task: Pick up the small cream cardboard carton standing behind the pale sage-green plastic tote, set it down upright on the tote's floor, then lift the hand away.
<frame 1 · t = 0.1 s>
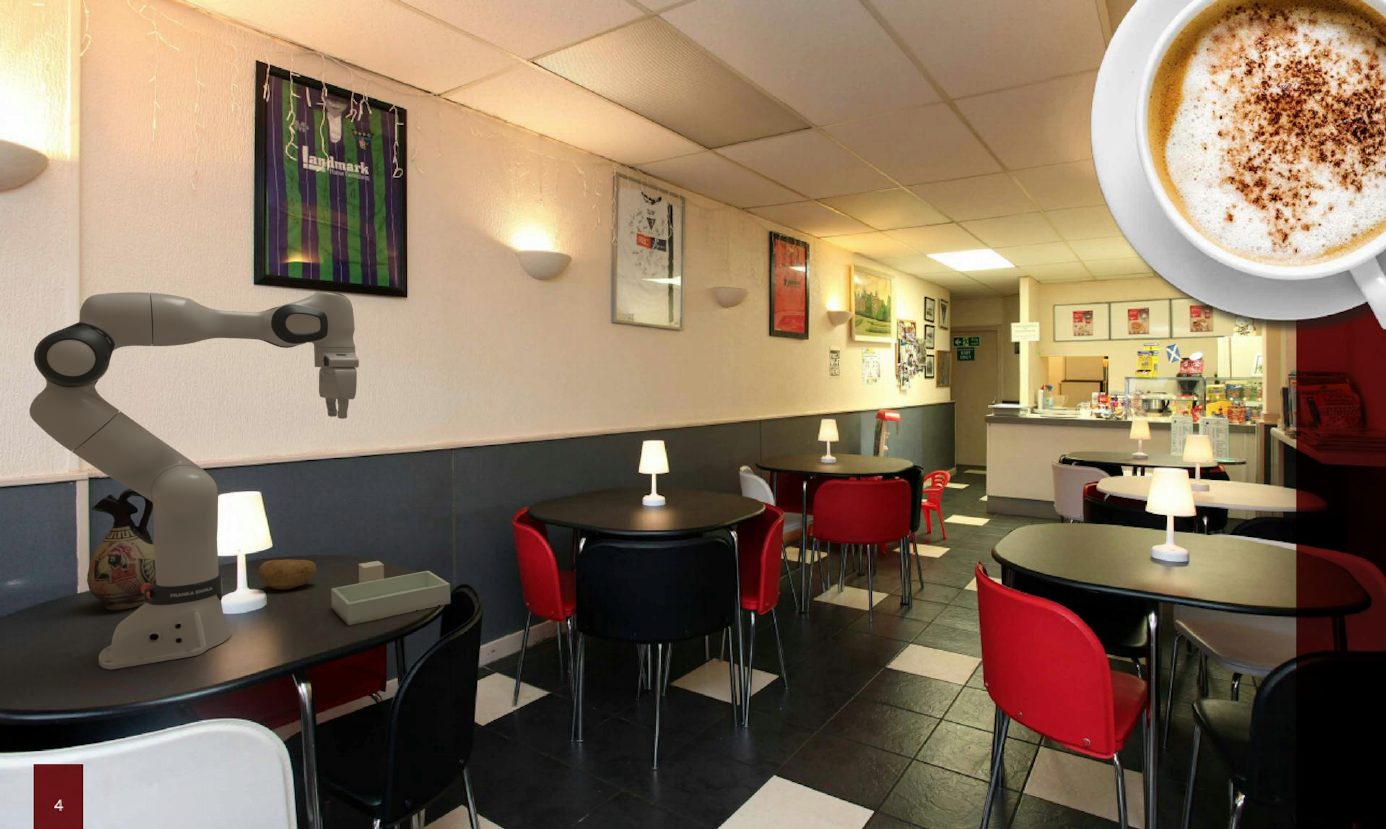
hand: (337, 417, 169), 48 cm above the table, fingers open, 8 cm apart
ceramic jug: (132, 605, 178), on the table
tote: (391, 605, 176), on the table
potato: (288, 589, 191), on the table
carton: (371, 589, 189), on the table
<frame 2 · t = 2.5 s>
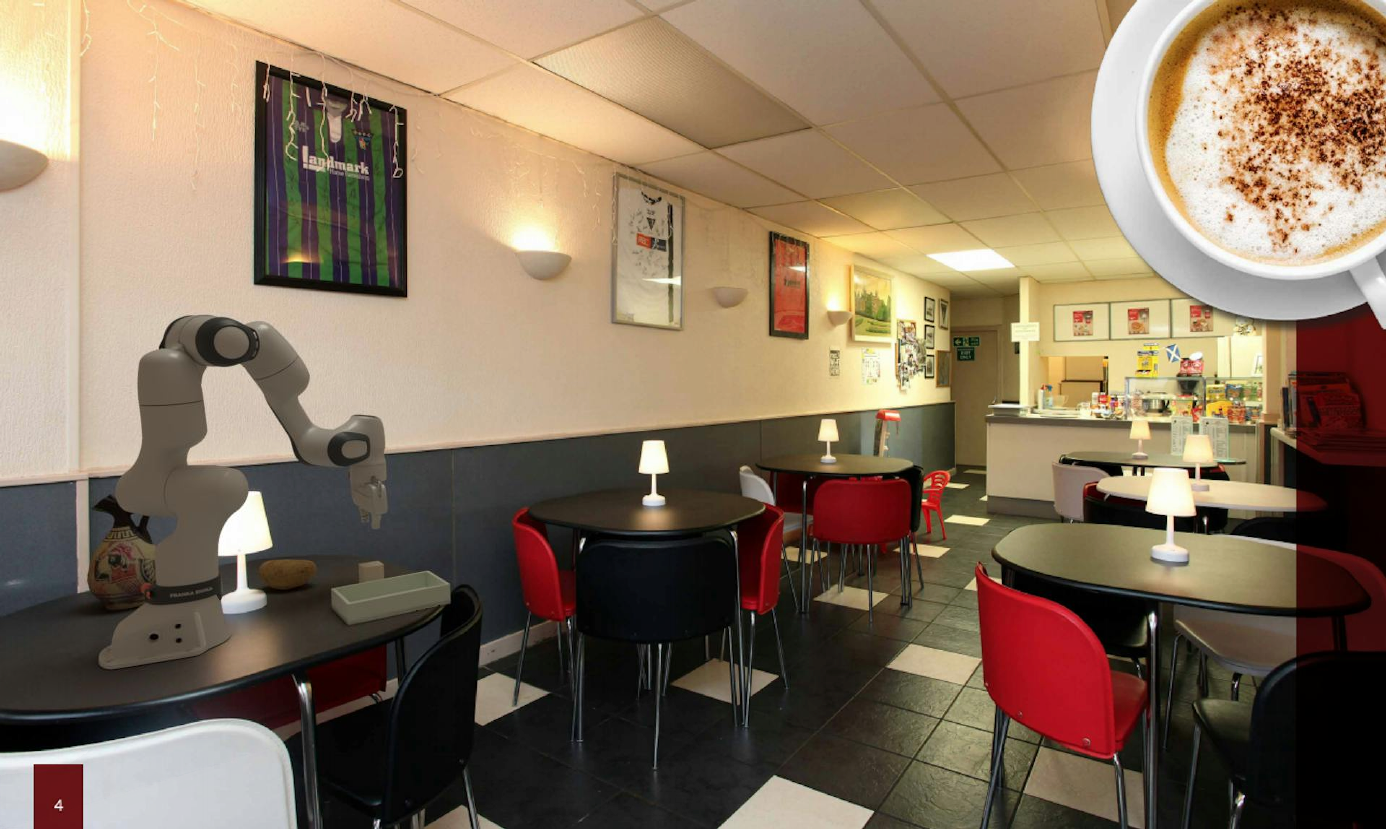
hand: (370, 525, 188), 18 cm above the table, fingers open, 8 cm apart
nothing on the table moved.
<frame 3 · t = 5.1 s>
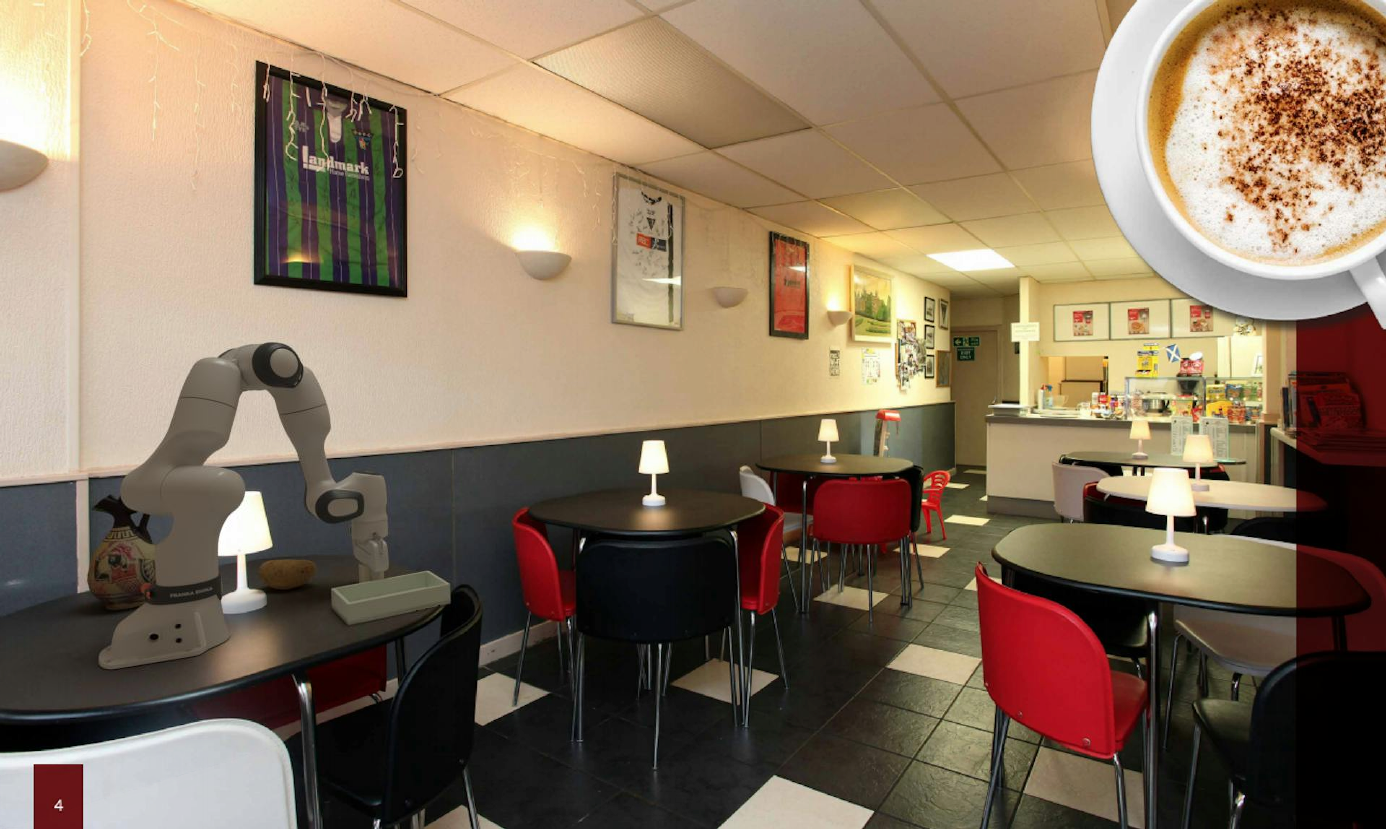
hand: (371, 580, 189), 2 cm above the table, fingers closed on carton, 5 cm apart
carton: (371, 589, 189), on the table, touching gripper
everything else where it was.
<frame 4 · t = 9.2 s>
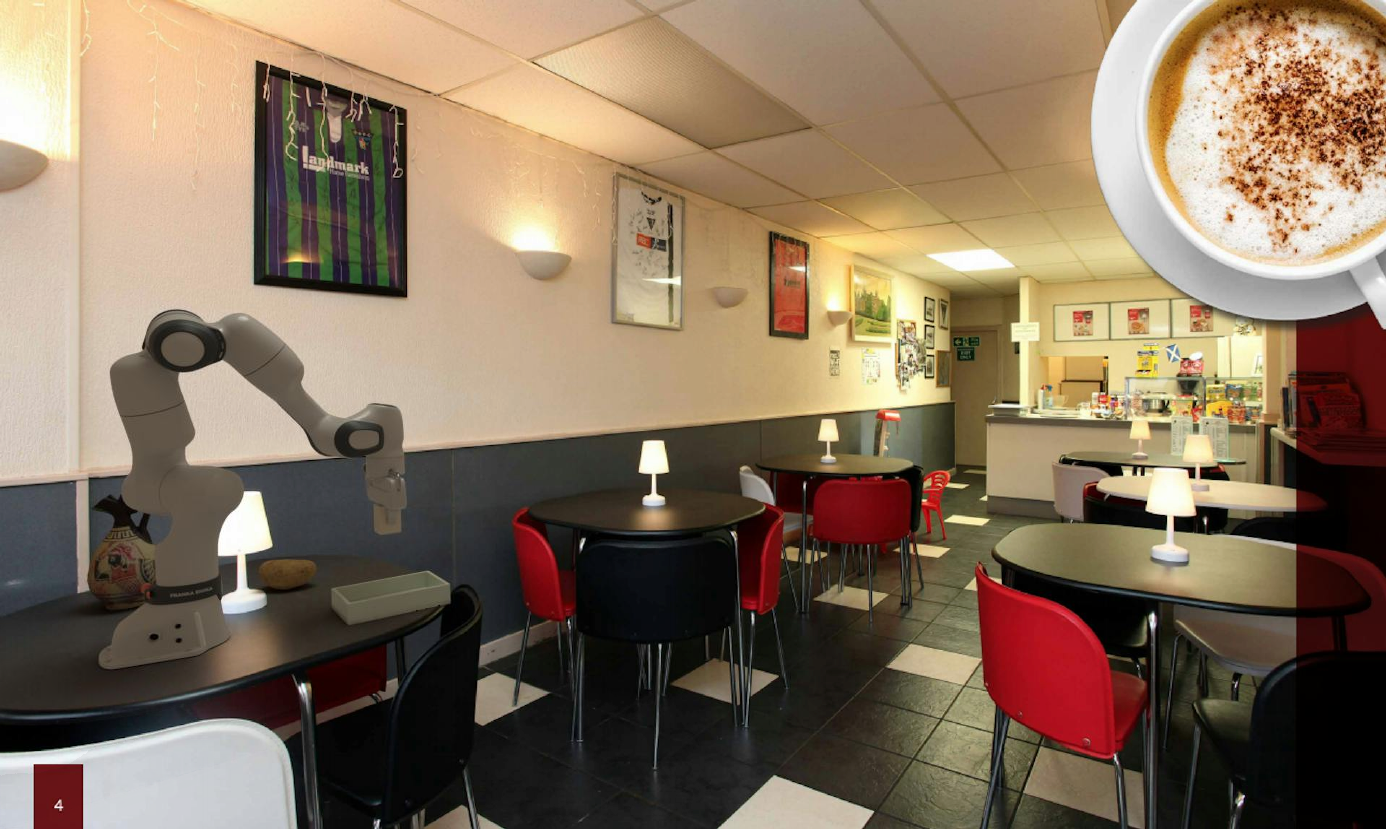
hand: (387, 522, 176), 21 cm above the table, fingers closed on carton, 5 cm apart
carton: (387, 531, 176), point 19 cm above the table, touching gripper
everything else where it was.
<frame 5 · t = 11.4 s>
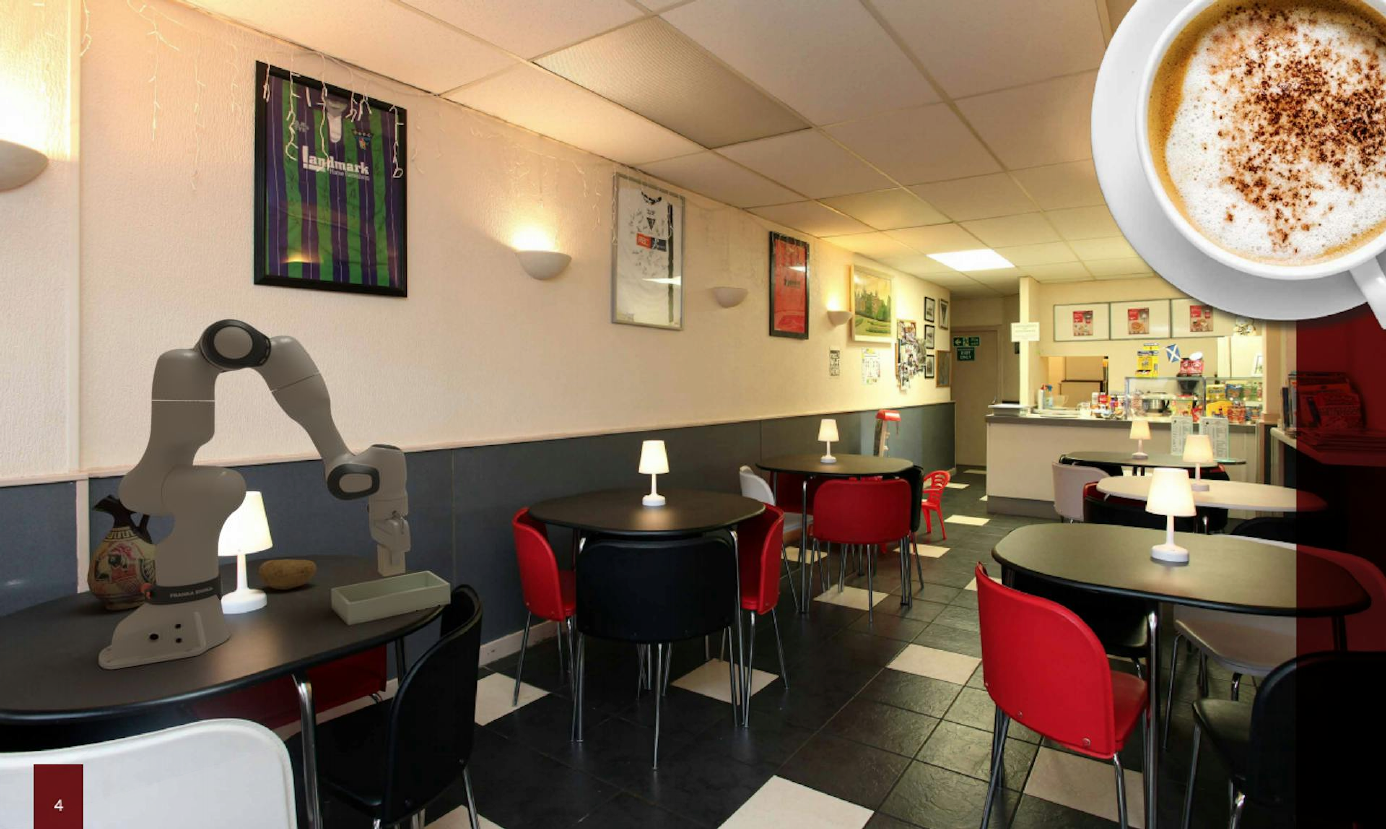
hand: (391, 562, 176), 11 cm above the table, fingers closed on carton, 5 cm apart
carton: (391, 572, 176), point 8 cm above the table, touching gripper
everything else where it was.
when the fingers open (5 cm above the table, at t = 13.4 s): carton drops 1 cm, resting on tote.
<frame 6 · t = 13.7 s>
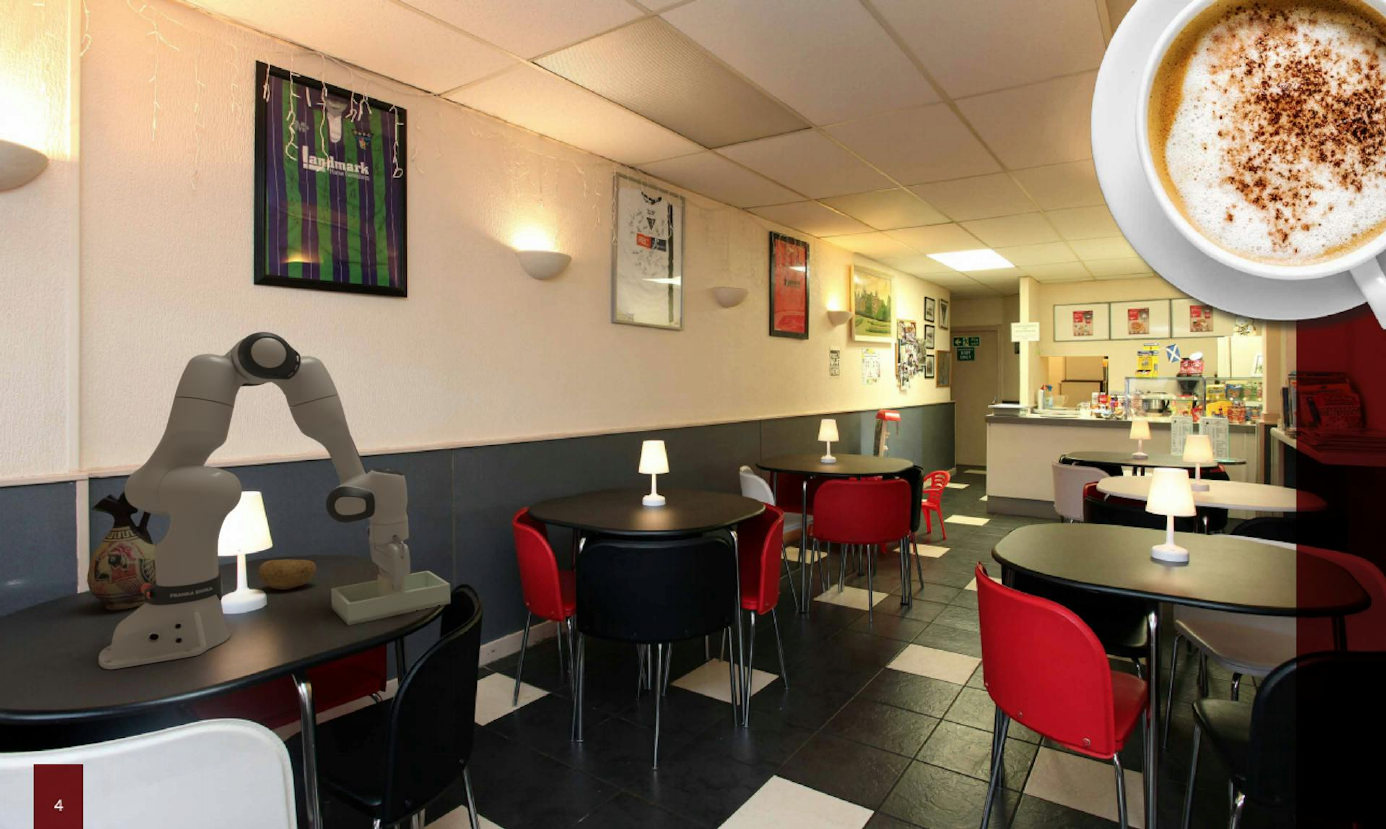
hand: (391, 586, 176), 5 cm above the table, fingers open, 8 cm apart
carton: (391, 601, 176), point 1 cm above the table, touching tote
everything else where it was.
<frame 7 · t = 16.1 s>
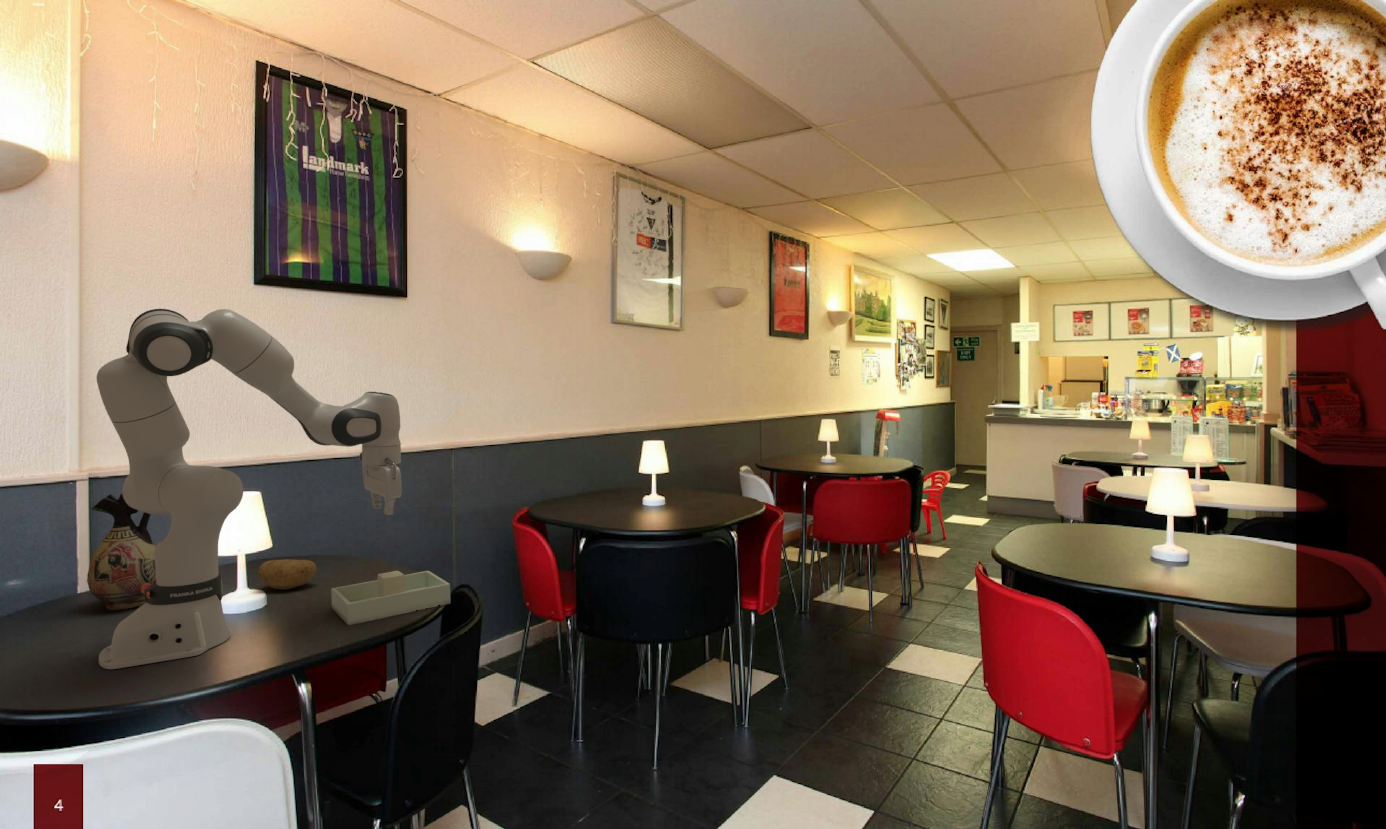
hand: (382, 511, 175), 24 cm above the table, fingers open, 8 cm apart
nothing on the table moved.
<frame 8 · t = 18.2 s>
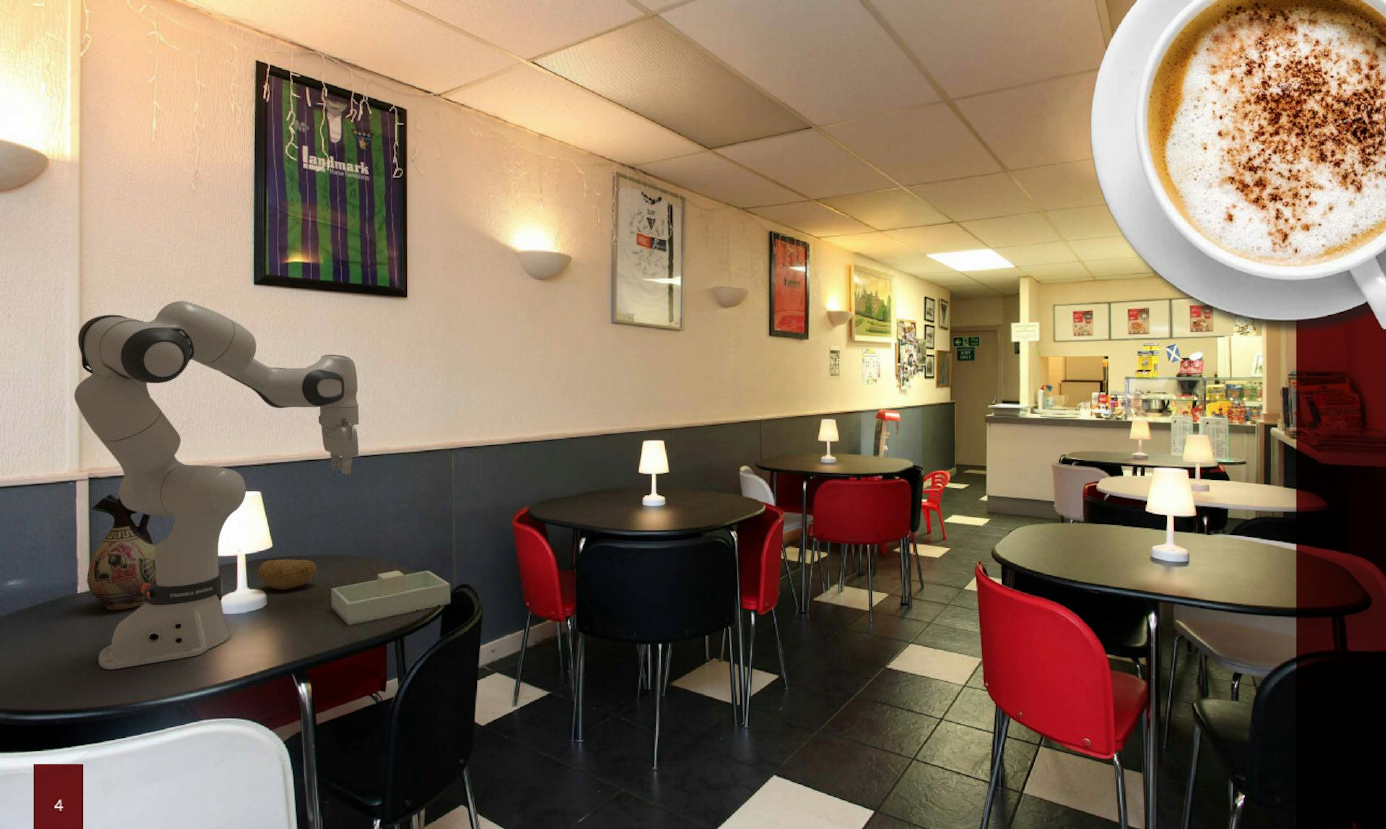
hand: (341, 471, 181), 33 cm above the table, fingers open, 8 cm apart
nothing on the table moved.
at the end: carton inside the target area on the tote (0.0 cm from its centre), point 1.0 cm above the tote's base; carton tilted 0°; the gripper is holding nothing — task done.
